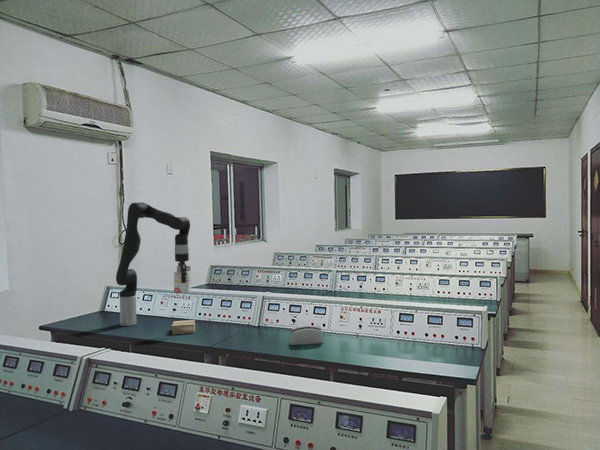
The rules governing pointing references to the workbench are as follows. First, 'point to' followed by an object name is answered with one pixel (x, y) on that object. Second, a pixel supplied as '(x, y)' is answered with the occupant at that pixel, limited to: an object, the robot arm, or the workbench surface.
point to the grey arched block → (306, 335)
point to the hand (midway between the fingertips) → (182, 282)
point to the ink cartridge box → (180, 286)
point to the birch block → (183, 327)
